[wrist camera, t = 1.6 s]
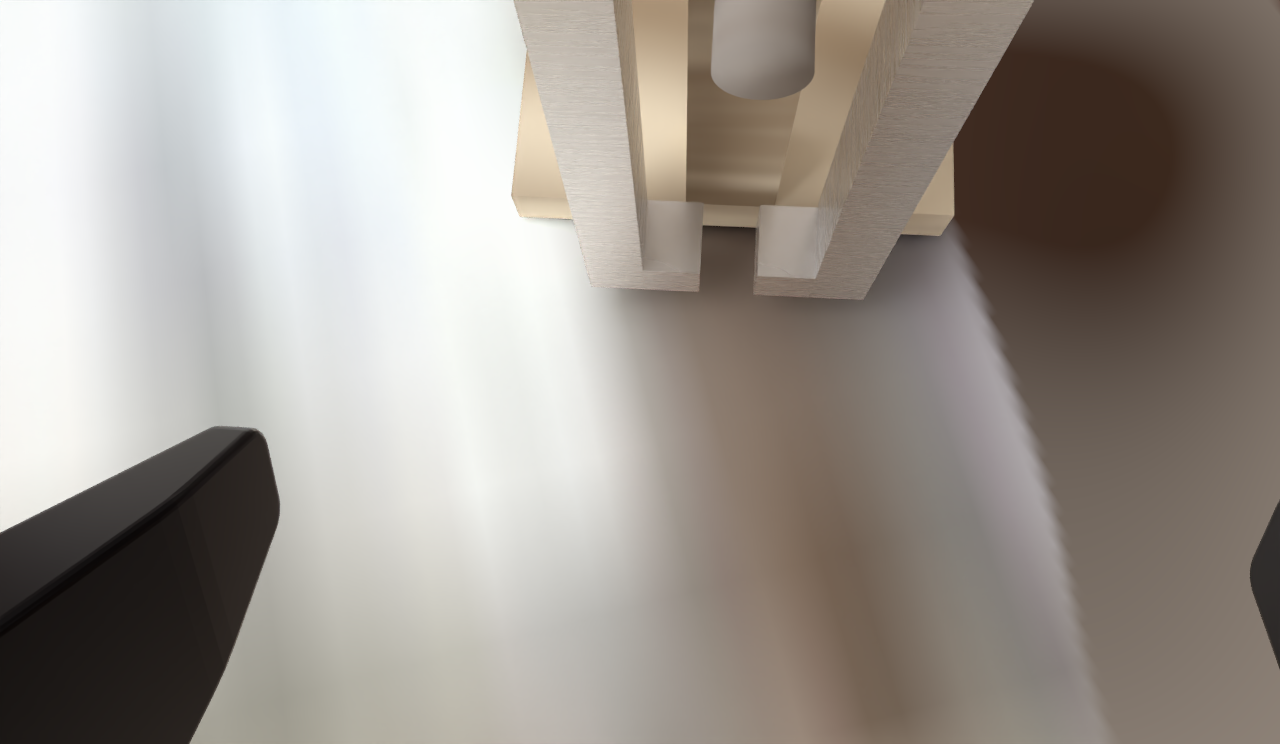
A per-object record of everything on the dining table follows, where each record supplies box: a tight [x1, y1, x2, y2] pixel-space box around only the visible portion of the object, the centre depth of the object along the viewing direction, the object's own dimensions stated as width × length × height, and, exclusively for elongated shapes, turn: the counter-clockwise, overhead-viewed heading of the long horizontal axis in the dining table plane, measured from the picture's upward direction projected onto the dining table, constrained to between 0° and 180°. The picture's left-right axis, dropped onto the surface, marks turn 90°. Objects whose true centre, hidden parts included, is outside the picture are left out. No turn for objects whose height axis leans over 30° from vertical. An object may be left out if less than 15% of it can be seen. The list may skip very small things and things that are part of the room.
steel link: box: [514, 0, 1034, 300], centre depth 16 cm, size 2×6×12 cm, turn 86°
